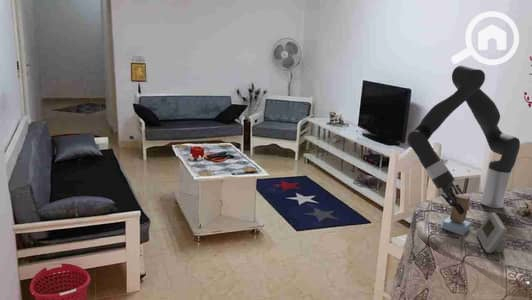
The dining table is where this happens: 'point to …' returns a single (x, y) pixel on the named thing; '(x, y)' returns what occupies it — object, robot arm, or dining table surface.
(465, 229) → the pedestal
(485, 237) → the digital clock
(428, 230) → the dining table surface
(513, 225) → the dining table surface
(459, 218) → the walnut pillar
